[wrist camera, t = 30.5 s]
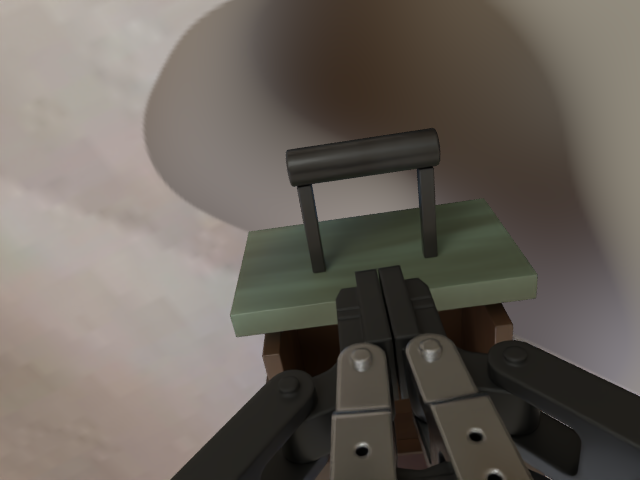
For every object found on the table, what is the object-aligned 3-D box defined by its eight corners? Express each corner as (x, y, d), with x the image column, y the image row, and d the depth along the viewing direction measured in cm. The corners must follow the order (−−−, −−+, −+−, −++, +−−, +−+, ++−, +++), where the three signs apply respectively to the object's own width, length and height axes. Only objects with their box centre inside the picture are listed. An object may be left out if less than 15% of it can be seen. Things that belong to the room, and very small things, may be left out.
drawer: (223, 128, 25) (192, 188, 19) (484, 87, 24) (547, 136, 18) (295, 419, 35) (291, 525, 28) (483, 397, 34) (523, 501, 28)
